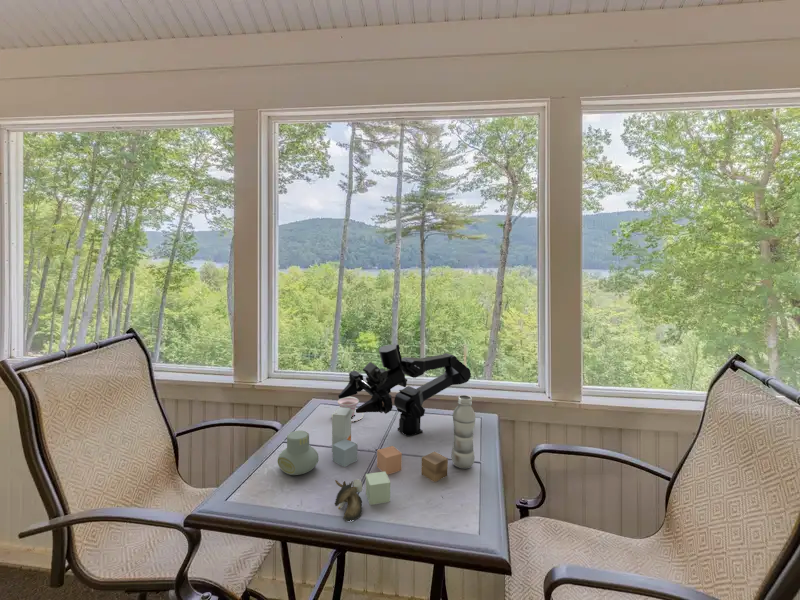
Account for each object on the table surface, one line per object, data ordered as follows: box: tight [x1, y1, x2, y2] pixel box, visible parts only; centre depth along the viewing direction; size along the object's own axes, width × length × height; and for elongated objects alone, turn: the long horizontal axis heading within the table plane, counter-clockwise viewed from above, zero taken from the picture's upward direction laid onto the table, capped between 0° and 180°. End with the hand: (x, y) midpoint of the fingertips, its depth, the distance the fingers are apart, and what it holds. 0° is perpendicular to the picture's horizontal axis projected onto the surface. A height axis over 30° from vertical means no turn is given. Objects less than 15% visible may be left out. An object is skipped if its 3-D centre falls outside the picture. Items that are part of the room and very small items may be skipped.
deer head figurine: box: [334, 478, 363, 522], centre depth 89 cm, size 8×7×9 cm
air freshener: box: [277, 430, 320, 476], centre depth 106 cm, size 11×8×10 cm
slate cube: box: [332, 439, 358, 468], centre depth 111 cm, size 5×5×5 cm
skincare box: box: [331, 406, 352, 453], centre depth 117 cm, size 6×4×12 cm
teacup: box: [337, 396, 365, 423], centre depth 143 cm, size 12×12×6 cm
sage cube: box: [365, 471, 391, 506], centre depth 94 cm, size 5×5×5 cm
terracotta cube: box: [376, 445, 403, 476], centre depth 107 cm, size 5×5×5 cm
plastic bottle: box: [451, 394, 477, 470], centre depth 109 cm, size 6×7×20 cm
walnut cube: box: [420, 451, 449, 483], centre depth 104 cm, size 5×5×5 cm
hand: (347, 404), depth 114 cm, fingers open, 9 cm apart
